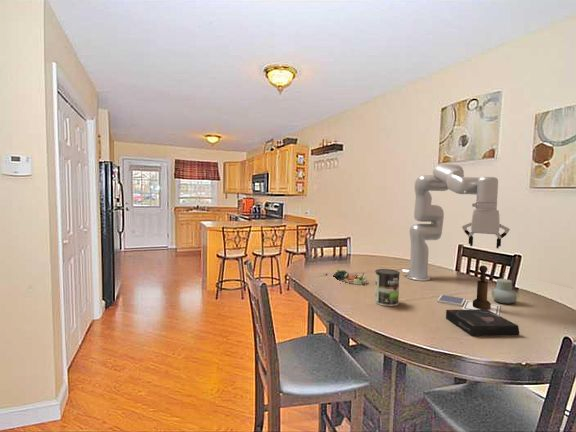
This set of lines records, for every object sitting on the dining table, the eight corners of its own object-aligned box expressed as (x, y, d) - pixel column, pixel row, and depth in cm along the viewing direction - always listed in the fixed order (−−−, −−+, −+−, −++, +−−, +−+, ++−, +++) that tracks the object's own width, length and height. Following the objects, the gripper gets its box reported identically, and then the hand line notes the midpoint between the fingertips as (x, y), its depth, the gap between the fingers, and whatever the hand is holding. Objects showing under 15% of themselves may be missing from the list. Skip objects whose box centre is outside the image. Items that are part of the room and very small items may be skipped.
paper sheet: (462, 309, 142) (462, 308, 142) (466, 300, 154) (466, 299, 154) (498, 316, 134) (498, 315, 134) (500, 306, 147) (500, 305, 147)
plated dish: (386, 289, 174) (386, 275, 174) (333, 291, 171) (333, 277, 170) (363, 274, 209) (363, 262, 208) (318, 275, 205) (318, 263, 205)
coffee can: (403, 304, 148) (404, 272, 147) (386, 307, 143) (387, 274, 142) (386, 297, 157) (387, 267, 156) (369, 300, 152) (370, 269, 151)
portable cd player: (519, 336, 116) (519, 325, 116) (471, 337, 115) (472, 326, 115) (487, 319, 133) (488, 309, 132) (445, 319, 131) (446, 309, 131)
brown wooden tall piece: (488, 305, 146) (490, 264, 145) (492, 310, 140) (494, 267, 139) (471, 304, 148) (473, 263, 147) (474, 308, 142) (476, 266, 141)
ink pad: (437, 302, 151) (437, 299, 151) (441, 296, 160) (441, 294, 160) (462, 306, 146) (462, 303, 146) (465, 300, 154) (465, 298, 154)
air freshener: (517, 306, 147) (518, 284, 146) (495, 304, 150) (496, 282, 149) (510, 299, 157) (511, 278, 156) (490, 297, 160) (491, 276, 159)
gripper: (462, 206, 144) (460, 246, 145) (510, 207, 134) (508, 250, 135) (464, 205, 150) (462, 244, 151) (511, 207, 140) (508, 247, 141)
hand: (484, 246), depth 143 cm, fingers open, 9 cm apart
